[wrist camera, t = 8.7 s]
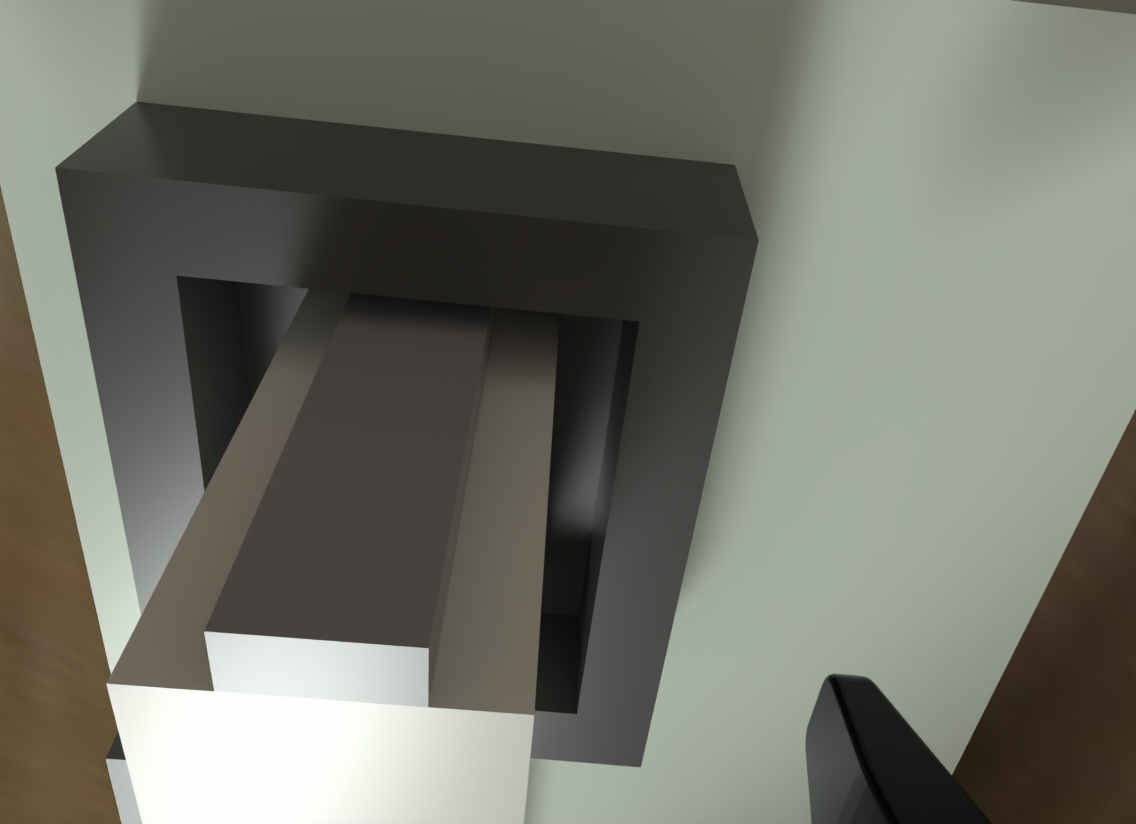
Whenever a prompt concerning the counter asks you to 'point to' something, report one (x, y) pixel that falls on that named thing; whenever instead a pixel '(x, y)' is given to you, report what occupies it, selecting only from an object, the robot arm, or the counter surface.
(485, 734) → the plug
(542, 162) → the board
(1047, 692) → the counter surface
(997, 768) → the counter surface
